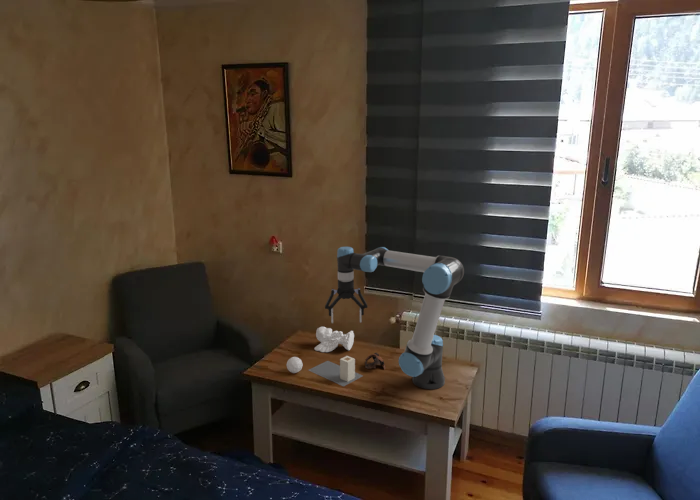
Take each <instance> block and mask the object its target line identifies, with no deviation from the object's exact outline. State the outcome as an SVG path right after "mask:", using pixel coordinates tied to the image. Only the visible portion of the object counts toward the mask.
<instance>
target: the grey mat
mask: <svg viewBox="0 0 700 500" xmlns="http://www.w3.org/2000/svg"><path fill="white" fill-rule="evenodd" d="M308 371H309V372H311V373H314V374H316V375H317V376H320V377H322V378H324V379H326V380H328V381H330V382H333V383H335V384H338V385H339V386H341V387H345V386H347V385H349V384H352V383H353V382H355V381H356V380H359V379H360V378H362V377H364V375H362V374H360V373H358V372H356V371H355V378H354V379H352V380H350V381H349V382H347V381H345V380H342V379H340V364H337V363H335V362H332V361H330V360H326V361H324V362H322V363H320V364H317V365H316V366H314V367H312V368H309V369H308Z"/></svg>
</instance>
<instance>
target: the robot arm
mask: <svg viewBox="0 0 700 500" xmlns="http://www.w3.org/2000/svg"><path fill="white" fill-rule="evenodd" d="M336 251H337V255H336V259H337V260H336V261H337V289H334V288H331V292H330V295H329V297H328V299H327V301H326V303H325V305H324V309H325V310H326V309H327V310H328V316H329V317H331V320H330V321H331V324H334V307H335V306H336V305H337V303H338V302H339V301H340V300H341V299H343V300H350V299H351V300H353V302H354V303H355V304H356V305H357V306H358V307H359V323H362V321H363V320H362V316H364V314H365V309H367V308H368V303H367V301H366V300H365V298H364V295H363V294H362V291H361V288H360V287H358V288H357V289H355V288H354V287H355V284H354V283H355V282H354V279H355V278H354V277H355V274H354V272H355V271H362V272H366V273H372V272H373V273H374V271H375V270H376V269H377V267H378V266H383V267H384V266H385V267H391V268H397V269H402V270H407V271H408V270H409V271H414V272H420V273H423V274H422V278H421V281H422V285H423V287H422V291H423V292H424V297H423V300H422V303H421V307H420V310H419V314H418V318H417V321H416V325H415V328H414V331H413V334H412V338H411V339H409V340H408V341H407V342H406V343H407V344H406V346H405V350H404V351H403V352H402V353H401V354H400V356H399V357H398V364H399V367H400V369H401V371H402V373H404V374H405V375H406V376H409V377H412V383H413V384H414V386H417V387H418V388H420V389H426V390H437V389H440V388H442V387H444V385H445V383H446V377H445V375H444V370H443V367H442V366H443V352H444V351H443V349H444V343H443V342H444V340H443V338H442V337H441V336H439V335H437V334H435V333H436V330H437V327H438V323H439V319H440V316H441V314H442V310H443V307H444V304H445V301H446V300H448V299H449V298H451V294H452V291H453V288H454V286H455V285H457V284H458V283H459V282H460V281H462V279H463V277H464V274H465V268H464V265H463V263H462V262H461V261H460V260H459V259H458V258H455V257H452V256H445V255H437V256H429V255H424V254H415V253H410V252H409V253H408V252H401V251H396V250H389V249H388V248H386V247H385V246H380V247H377V248H375V249H373V250H370V251H367V252H365V253H356V252H354V248H353V247H351V246H340V247H338V248H337V250H336ZM354 270H355V271H354ZM355 293H356V294H357V295H358V297H359V298H360V300H359V299H358V298H357V297H356V296H355V295H354V294H355ZM336 294H338V295H337V296H336V297H335V299H334V300H333V298H334V295H336ZM332 300H333V301H332ZM331 301H332V303H331Z"/></svg>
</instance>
